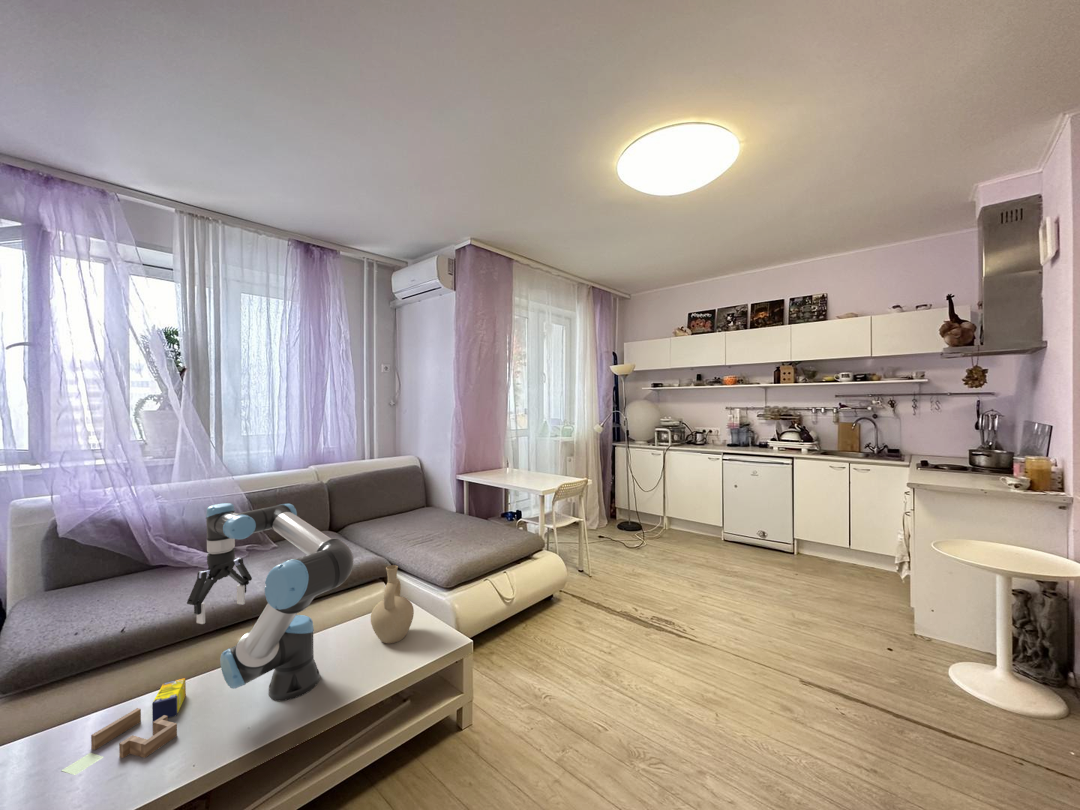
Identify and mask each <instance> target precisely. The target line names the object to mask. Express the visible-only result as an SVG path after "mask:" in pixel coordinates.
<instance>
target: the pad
mask: <svg viewBox="0 0 1080 810" xmlns="http://www.w3.org/2000/svg"><path fill="white" fill-rule="evenodd" d="M103 758H104V756H102V755H99V754H97V753H93V752H89V753H87V754H86V755H84V756H83V757H81V758H79V759H78V760H76V761H75V762H72V763H71V764H70V765H68V766H66V767H65V768H63V769H61V772H63V773H66V774H70V775H74V776H76V775H78V774H80V773H81V772H83V771H84V770H86V769H88V768H89V767H91V766H92V765H94V764H95V763H97V762H98V761H100V760H102V759H103Z"/></svg>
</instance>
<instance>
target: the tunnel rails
mask: <svg viewBox="0 0 1080 810" xmlns="http://www.w3.org/2000/svg"><path fill="white" fill-rule="evenodd" d="M141 716H142V711H141V708H140V707H139V708H138V707H137V708H134V709H133V710H131V711H129V712H128V713H127V714H125V715H123V716H121V717H119V718H117V719H116V720H114V721H113V722H111V723H109V724H107V725H105V727H102V728H100V729H99V730H96V731H95V732H94V733H92V734H91V735H90V736H91V737H90V739H91V740H90V743H91V747H90V748H91V750H93V751H97V750H98V749H99V748H101V747H103V746H104V745H106V744H107V743H109V742H111V741H112V740H114V739H115V738H118V737H119V736H121V735H122V734H123V733H125V732H127V731H128V730H131V729H132V728H133V727H135V726H137V725H138V724H140V723H142V717H141ZM176 737H178V723H176V722H173V721H169V718H168V716H166V715H163V716H162V717H160V718H159V719H157V720H156V721H154V722H153V721H152V736H150V737H149V738H144V737H140V736H137V735H133V734H131V735H130V736H129V737H127V738H126V739H124V740H123V741H121V742H119V745H118V746H119V748H118V749H119V750H118V753H119V754H118V756H119V758H122V759H124V758H126V757H127V756H128V755H132V756H136V757H141V758H144V759H145V758H147V757H148V756H151V754H154V752H156V751H157V750H159V749H161V748H162V747H164V746H165V745H167V743H169V742H170V741H172V740H173V739H175V738H176Z"/></svg>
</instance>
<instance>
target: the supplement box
mask: <svg viewBox="0 0 1080 810" xmlns="http://www.w3.org/2000/svg"><path fill="white" fill-rule="evenodd" d="M186 689H187V688H186V678H185V677H184V678H180V679H175V680H171V681H167V682H163V683H162V685H161V687H160V689H159V691H158V692H157V695H156V696H155V698H154V700H153V701H152V705H151V707H152V710H151V711H152V714H151V715H152V717H151V718H152V723H153V722H154V721H156V720H157V719H159V718H160V717H162V716H163V715H166V716H168V719H170V718H172V717H175V715H176V716H177V715H178V713H179V712H180V709H181V707H182V705H183V702H184V701H185V699H186V695H187V692H186V691H187V690H186Z"/></svg>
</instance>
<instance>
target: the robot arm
mask: <svg viewBox="0 0 1080 810" xmlns="http://www.w3.org/2000/svg"><path fill="white" fill-rule="evenodd" d="M235 511H236V510H235V505H234V504H233V503H230V502H226V503H215V504H212V505H210V506H208V507H207V508H206V516H205V519H206V522H205V523H206V551H207V554H206V563H207V564H206V565H207V567H208V568H207V569H206V570H204V571H202V570H199V571H198V572H197V573H196V574H197V576H196V580H195V582H194V585H193V587H192V590H191V592H190V594H189V597H188V600H187V602H186V604H187V605H190V606H193V613H194V615H196V624H200V625H204V624H205V623H206V603H205V602H204V600H205V599H206V597H207V596H208V594H209V592H210V591H211V589H212V588H213V586H214V585H215V584H216V583H217V582H218V581H220V580H222V579H223V578H227V577H228V576H229V577H230V578H231V579H233V580H234V581H235V582H237V583H238V584H237V585H236V604H237V605H245V604H246V593H247V586H249V584H250V582H251V581H252V580H253V577H252V576H251V574H250V572H249V571H248V569H247V567H246V566H245V564H244V559H243V558H242V557H236V555H235V554H236V553H235V546H236V541H235V540H244V539H246V538H249V537H250V536H252V535H253V534H256V533H260V532H264V531H269V530H273V532H275V533H277V534H278V535H280V537H282V538H284V539H285V540H287V541H288V542H289V543H291V545H293V546H295V547H296V548H297V549H299V550H300V551H301V552H302V553H304V554H305V555H304V556H301V557H298V558H295V559H289V560H285V561H283V562H281V563H279V564H277V565H275V566H274V567H273V568H271V569H270V570H269V572H268V573H267V576H266V578H265V586H264V595H265V599H266V602H267V604H266V605H265V607H264V609H263V611H262V612H261V614H260V616H259V617H258V619H257V620H256V621H255V623H254V625H253V627H252V629H251V630H249V631H247V632H246V633H245V634H244V635H242V636H241V638H240V639H239V640H238V642H237V643H236V645H235V646H232V647H229V648H227V649H225V650H223V652H221V654H220V670H221V672H222V676H223V679H224V681H225V682H226V684H227V686H228V687H229V688H230V689H237V688H241V687H243V686H245V685H246V684H249V683H250V682H252V681H254V680H255V679H257V678H260V677H261V676H263V675H265V674H268V673H269V672H271V671H273V673H272V676H271V679H270V683H269V685H268V697H269V699H271V700H274V701H277V702H280V701H281V702H283V701H284V702H285V701H288V700H289V701H290V700H293V699H296V698H300V697H302V696H304V695H305V694H307V693H309V692H310V691H312V690H313V689H314V688H315V687H316V686H317V685H318V684H319V682H320V677H321V676H320V675H321V674H320V671H319V668H318V667H317V665H318V664H317V663H316V661H315V658H314V632H315V629H314V622H313V619H312V618H311V617H310V616H307V615H304V614H303V615H301V614H299V613H301V612H303V611H304V610H306V609H307V608H308V607H309V606H310V604H311V603H312V601H314V599H315V597H317V596H319V595H321V594H324V593H326V592H330V591H331V590H334V589H337V588H338V587H339V586H341V585H342V584H343V583H345V582H346V580H347V579H348V578H349V577H350V575H351V573H352V570H353V567H354V555H353V553H352V550H351V548H350V547H349V546H348V544H347V543H345V542H344V541H342V540H341V539H339V538H336V537H335V538H331V537H330V536H328V535H326V534H325V533H323V532H322V531H321V530H319V529H317V528H316V527H314V525H313V526H312V525H311V524H310V523H308V522H306V521H305V520H304V519H302V518H300V516H298V511H297V509H296V507H295V505H293V504H291V503H282V504H281V503H280V504H277V505H273V506H269V507H263V508H259V509H254V510H249V511H244V512H238V513H237V512H235ZM234 567H235V568H236V569H237V571H238V572H239V573H238V572H237V571H236V570H235V569H234Z"/></svg>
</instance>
